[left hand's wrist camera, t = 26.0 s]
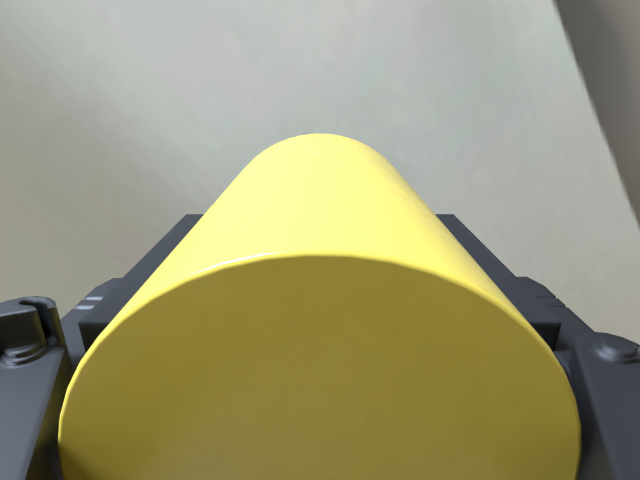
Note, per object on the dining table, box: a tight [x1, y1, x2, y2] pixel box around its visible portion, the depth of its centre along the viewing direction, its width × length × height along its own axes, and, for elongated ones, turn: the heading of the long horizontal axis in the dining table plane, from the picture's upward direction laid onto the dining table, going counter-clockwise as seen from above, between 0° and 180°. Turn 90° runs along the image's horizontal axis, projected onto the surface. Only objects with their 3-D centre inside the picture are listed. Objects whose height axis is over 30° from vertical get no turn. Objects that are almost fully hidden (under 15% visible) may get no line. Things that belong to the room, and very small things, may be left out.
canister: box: [58, 134, 581, 480], centre depth 11 cm, size 7×7×11 cm
